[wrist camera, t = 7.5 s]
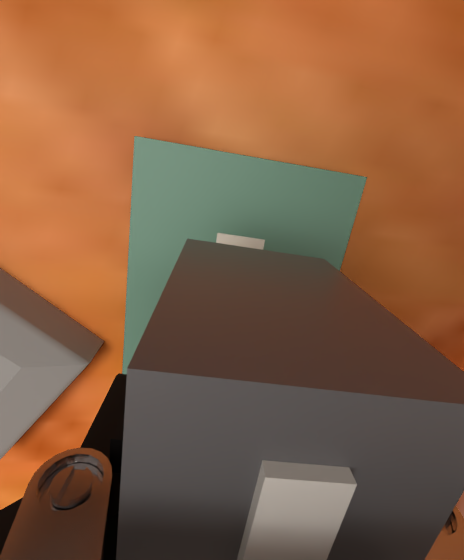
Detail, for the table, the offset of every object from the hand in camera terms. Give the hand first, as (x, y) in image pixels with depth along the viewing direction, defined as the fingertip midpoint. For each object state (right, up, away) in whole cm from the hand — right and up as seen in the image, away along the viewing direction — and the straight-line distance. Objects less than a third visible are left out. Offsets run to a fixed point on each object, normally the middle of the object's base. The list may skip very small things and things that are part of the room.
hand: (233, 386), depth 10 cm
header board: (0, +2, +7) cm, 7 cm away
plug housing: (0, 0, 0) cm, 0 cm away
